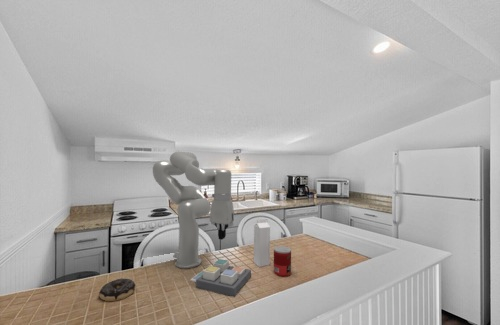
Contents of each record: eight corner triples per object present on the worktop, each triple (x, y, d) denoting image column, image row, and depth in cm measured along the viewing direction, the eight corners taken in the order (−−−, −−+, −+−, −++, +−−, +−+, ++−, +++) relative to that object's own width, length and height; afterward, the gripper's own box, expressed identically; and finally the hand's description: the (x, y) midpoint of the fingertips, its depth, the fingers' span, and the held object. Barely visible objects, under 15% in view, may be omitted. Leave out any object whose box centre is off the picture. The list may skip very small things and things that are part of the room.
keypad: (195, 287, 90) (196, 279, 91) (217, 270, 106) (217, 263, 106) (234, 296, 84) (234, 288, 84) (250, 276, 100) (250, 269, 100)
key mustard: (203, 278, 92) (203, 270, 92) (209, 273, 96) (209, 265, 96) (213, 281, 90) (214, 272, 90) (220, 275, 94) (220, 267, 95)
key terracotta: (229, 279, 96) (229, 270, 96) (234, 274, 101) (234, 266, 101) (240, 281, 94) (240, 272, 94) (245, 276, 99) (245, 268, 99)
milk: (253, 262, 115) (253, 219, 116) (264, 260, 118) (264, 218, 119) (259, 267, 110) (259, 221, 111) (270, 265, 113) (270, 220, 113)
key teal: (213, 270, 99) (213, 262, 99) (218, 266, 104) (219, 258, 104) (223, 272, 97) (223, 264, 97) (228, 268, 102) (228, 260, 102)
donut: (112, 286, 91) (112, 276, 91) (141, 287, 91) (141, 277, 91) (92, 302, 80) (92, 291, 80) (125, 303, 80) (125, 291, 80)
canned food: (290, 277, 99) (291, 252, 100) (272, 275, 101) (272, 251, 101) (291, 270, 107) (291, 246, 107) (274, 268, 109) (274, 245, 109)
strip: (190, 281, 96) (190, 279, 96) (204, 270, 106) (204, 268, 106) (197, 282, 94) (197, 280, 94) (211, 271, 105) (211, 269, 105)
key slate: (220, 282, 89) (220, 273, 89) (226, 277, 93) (226, 268, 93) (232, 285, 87) (232, 276, 87) (237, 279, 92) (237, 270, 92)
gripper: (203, 197, 101) (202, 238, 100) (234, 199, 95) (233, 243, 95) (212, 195, 108) (211, 234, 107) (241, 197, 102) (240, 238, 102)
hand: (221, 238), depth 101 cm, fingers closed
